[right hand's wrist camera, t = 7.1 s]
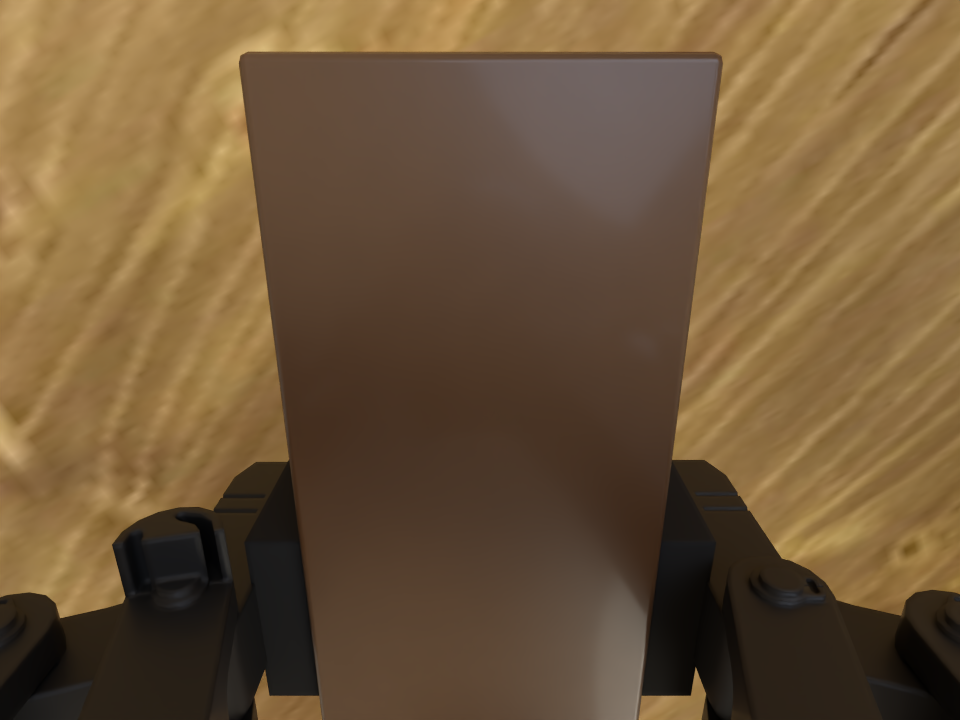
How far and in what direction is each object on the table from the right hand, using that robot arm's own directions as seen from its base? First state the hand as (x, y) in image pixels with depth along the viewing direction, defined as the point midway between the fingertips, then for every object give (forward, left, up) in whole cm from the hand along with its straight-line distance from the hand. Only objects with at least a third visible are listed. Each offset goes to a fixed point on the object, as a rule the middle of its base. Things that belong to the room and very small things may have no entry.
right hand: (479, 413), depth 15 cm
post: (-6, +19, -1) cm, 20 cm away
